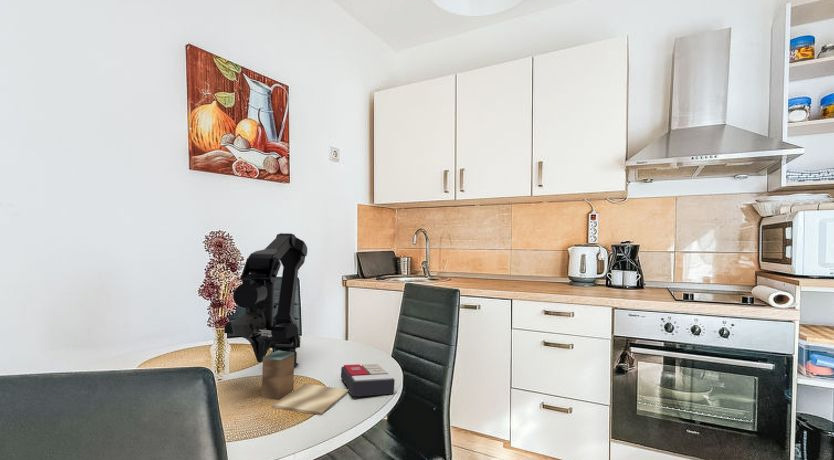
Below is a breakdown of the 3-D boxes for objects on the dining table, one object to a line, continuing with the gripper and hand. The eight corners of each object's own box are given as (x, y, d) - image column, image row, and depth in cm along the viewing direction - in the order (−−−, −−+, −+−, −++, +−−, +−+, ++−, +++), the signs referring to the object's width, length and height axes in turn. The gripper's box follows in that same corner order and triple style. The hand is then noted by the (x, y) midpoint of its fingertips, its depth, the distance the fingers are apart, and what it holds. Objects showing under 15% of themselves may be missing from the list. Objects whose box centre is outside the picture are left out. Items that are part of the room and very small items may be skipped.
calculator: (378, 362, 113) (395, 376, 100) (377, 377, 113) (394, 393, 99) (341, 363, 109) (353, 378, 95) (340, 379, 109) (352, 396, 95)
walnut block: (261, 397, 96) (262, 356, 96) (276, 388, 101) (277, 350, 102) (278, 400, 94) (280, 359, 94) (293, 391, 100) (294, 352, 100)
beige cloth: (272, 407, 90) (272, 404, 90) (305, 385, 104) (305, 383, 104) (321, 415, 86) (321, 412, 87) (349, 392, 100) (349, 389, 100)
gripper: (208, 303, 95) (205, 367, 94) (272, 309, 90) (270, 376, 89) (240, 297, 106) (238, 354, 105) (300, 302, 100) (298, 362, 100)
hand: (260, 361), depth 100 cm, fingers closed
